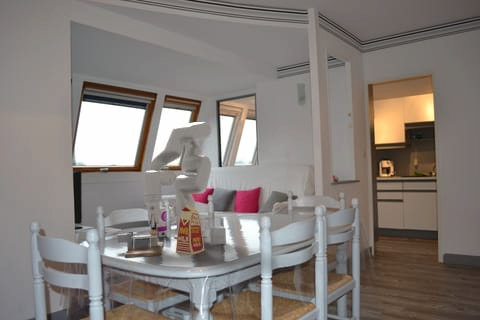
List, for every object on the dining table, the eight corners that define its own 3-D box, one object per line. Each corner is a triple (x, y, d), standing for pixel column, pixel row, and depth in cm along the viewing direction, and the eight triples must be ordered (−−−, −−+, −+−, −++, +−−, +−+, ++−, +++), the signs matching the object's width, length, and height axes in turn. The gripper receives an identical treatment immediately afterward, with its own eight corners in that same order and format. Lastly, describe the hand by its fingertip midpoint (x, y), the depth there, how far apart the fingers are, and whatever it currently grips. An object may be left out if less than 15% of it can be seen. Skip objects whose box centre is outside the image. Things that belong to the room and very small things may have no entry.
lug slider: (157, 244, 167) (157, 229, 167) (156, 247, 160) (156, 231, 160) (151, 245, 166) (150, 229, 166) (150, 248, 160) (149, 231, 160)
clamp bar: (156, 239, 164) (156, 231, 164) (156, 240, 161) (156, 232, 161) (118, 241, 162) (118, 234, 162) (117, 242, 159) (117, 235, 159)
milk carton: (192, 254, 151) (190, 204, 151) (174, 252, 156) (173, 204, 156) (206, 250, 158) (204, 202, 159) (189, 248, 163) (187, 202, 164)
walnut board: (163, 244, 174) (163, 241, 174) (160, 255, 152) (160, 252, 152) (131, 246, 172) (131, 243, 172) (124, 257, 149) (124, 254, 149)
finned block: (150, 245, 166) (149, 237, 166) (148, 249, 159) (148, 240, 159) (136, 246, 165) (135, 238, 165) (134, 250, 158) (133, 240, 158)
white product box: (170, 235, 200) (169, 206, 200) (161, 238, 192) (161, 208, 192) (156, 234, 202) (155, 206, 203) (148, 237, 194) (147, 208, 195)
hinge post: (133, 247, 164) (133, 231, 164) (131, 249, 158) (131, 233, 159) (129, 247, 163) (128, 231, 164) (127, 250, 158) (127, 233, 158)
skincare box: (222, 241, 177) (222, 226, 177) (226, 244, 171) (225, 227, 171) (210, 242, 175) (209, 226, 175) (213, 245, 169) (212, 228, 169)
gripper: (160, 199, 163) (162, 241, 162) (162, 196, 177) (164, 235, 177) (142, 200, 161) (144, 243, 161) (146, 197, 176) (147, 236, 176)
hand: (154, 239), depth 169 cm, fingers closed
